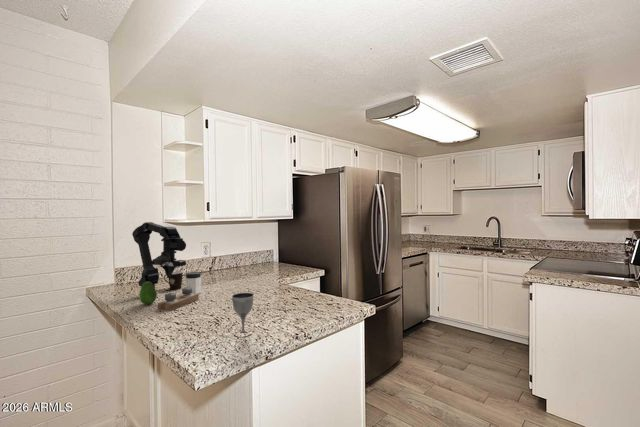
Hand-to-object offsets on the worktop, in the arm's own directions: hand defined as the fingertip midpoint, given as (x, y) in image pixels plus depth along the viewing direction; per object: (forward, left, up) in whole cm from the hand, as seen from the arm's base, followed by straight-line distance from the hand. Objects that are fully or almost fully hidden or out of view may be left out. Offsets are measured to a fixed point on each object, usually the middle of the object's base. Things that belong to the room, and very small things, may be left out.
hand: (168, 277), depth 168 cm
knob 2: (+12, 0, -9) cm, 15 cm away
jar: (+4, +15, -12) cm, 19 cm away
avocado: (-3, -11, -12) cm, 16 cm away
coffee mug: (-16, +22, -12) cm, 29 cm away
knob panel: (+12, -6, -12) cm, 18 cm away
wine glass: (+65, -33, -12) cm, 74 cm away
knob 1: (+12, -12, -9) cm, 19 cm away
